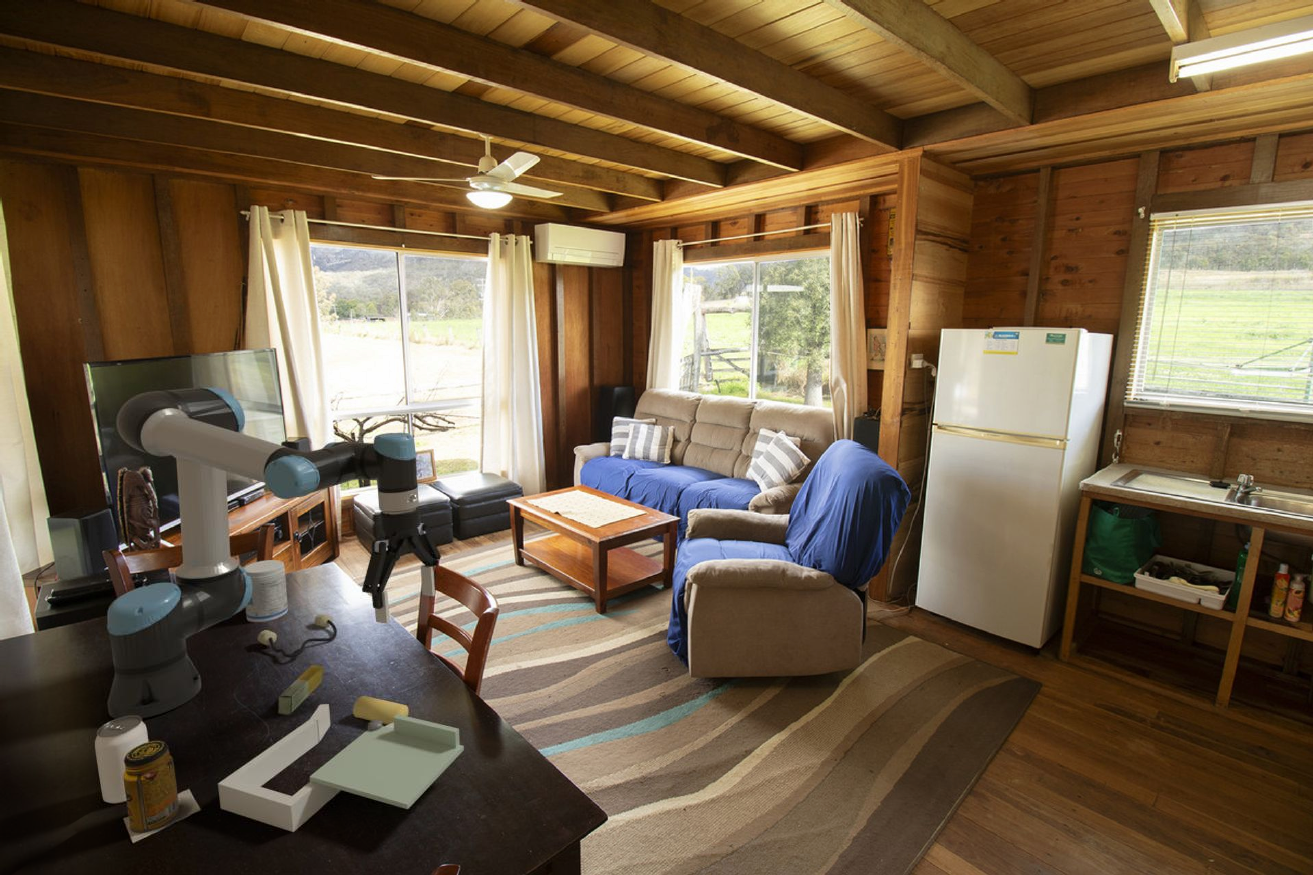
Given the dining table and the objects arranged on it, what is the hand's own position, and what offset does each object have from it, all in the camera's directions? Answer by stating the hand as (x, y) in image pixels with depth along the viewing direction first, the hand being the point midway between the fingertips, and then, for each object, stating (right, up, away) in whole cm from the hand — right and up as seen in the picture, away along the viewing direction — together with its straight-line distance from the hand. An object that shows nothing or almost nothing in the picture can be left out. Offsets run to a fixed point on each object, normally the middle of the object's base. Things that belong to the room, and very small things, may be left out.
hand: (407, 607), depth 126 cm
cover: (+7, -19, -24) cm, 32 cm away
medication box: (-23, -20, +2) cm, 31 cm away
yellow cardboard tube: (-3, -21, -5) cm, 22 cm away
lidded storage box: (-8, -23, -20) cm, 32 cm away
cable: (-36, -16, +25) cm, 46 cm away
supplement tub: (-54, -14, +39) cm, 68 cm away
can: (-37, -24, -24) cm, 50 cm away
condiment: (-27, -25, -30) cm, 47 cm away
